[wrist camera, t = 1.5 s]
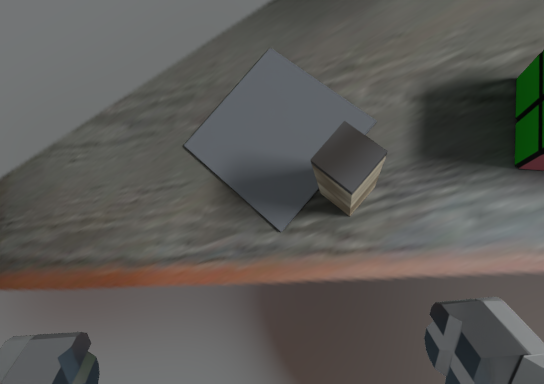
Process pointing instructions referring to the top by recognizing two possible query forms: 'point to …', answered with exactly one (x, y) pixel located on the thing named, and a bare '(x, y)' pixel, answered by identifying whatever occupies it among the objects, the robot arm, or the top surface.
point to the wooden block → (348, 167)
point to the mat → (273, 136)
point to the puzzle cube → (530, 116)
